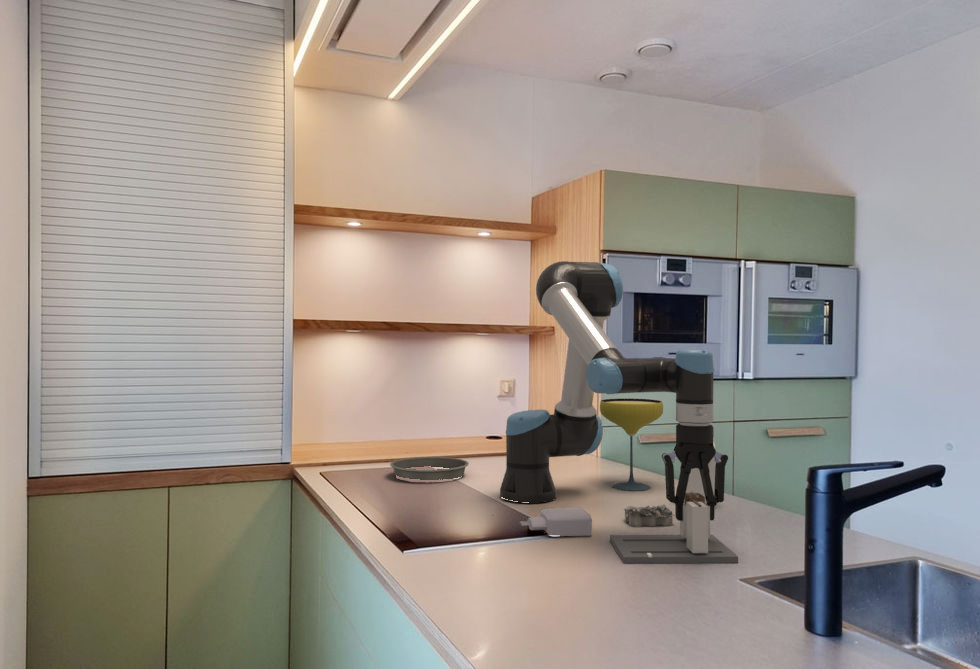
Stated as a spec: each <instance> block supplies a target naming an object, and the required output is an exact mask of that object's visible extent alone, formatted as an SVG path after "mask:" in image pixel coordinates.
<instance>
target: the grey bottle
mask: <svg viewBox="0 0 980 669" xmlns="http://www.w3.org/2000/svg"><path fill="white" fill-rule="evenodd" d="M539 515H540V516H535V517H534V516H533V517H530V516H529V517H527V521H519V524H520V525H521V526H522V527H523V526H524V527H525V526H528V528H529V530H530V531H543V530H545V531H546V532H547V533H548V534H552V535H560V536H580V537H592V536H593V534H592V533H593V528H592V526H593V518H592V516H591V514H590V513H589V512H588V511H587V510H586V509H584V508H583V507H581V506H580V507H558V508H556V507H555V508H543V509H542V510H540V513H539Z"/></svg>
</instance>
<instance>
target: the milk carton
mask: <svg viewBox="0 0 980 669" xmlns="http://www.w3.org/2000/svg"><path fill="white" fill-rule="evenodd" d="M713 445H714V448H715V449H716V445H715V441H714V442H713ZM714 459H715V457H713V458H712V460H711V461H710V463H709V464H708V466H709V471H710V472H709V474H710V479H711V484H712V489H713V494H714V490H715V464H716V462H715V460H714ZM691 492H694V493H700V494H701V495H703V496H704V497H705V494H704V489H703V484H702V480H701V475H700V471H699V469H698V468H694V469H691V473H690V474H689V479H688V484H687V489H686V493H691ZM684 502H685V499H684ZM705 503H706V504H707V502H706V499H705ZM714 509H716V506H715V507H714Z"/></svg>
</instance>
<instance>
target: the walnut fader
mask: <svg viewBox="0 0 980 669" xmlns="http://www.w3.org/2000/svg"><path fill="white" fill-rule="evenodd" d="M693 500H695V501H697V502H702V503H704V504H705V497H704V496H703V495H701V494H700V493H694V492H691V493H686V494H685V501H684V504H685V505H686V502H693Z"/></svg>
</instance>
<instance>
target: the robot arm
mask: <svg viewBox="0 0 980 669" xmlns="http://www.w3.org/2000/svg"><path fill="white" fill-rule="evenodd" d="M536 281H537V282H536V286H535V293H536V294H535V295H536V298H537V301H538V304H539V305H540V306H541V308H542V309H543V311H544V312H545V313H546V314H547V315H550V316H552V317H553V318H554V320H556V322H557V324H558V325H559V326H560V328H561V330H562V331H563V332H564V333H565V335H566V336H567V338H568V344H567V353H566V359H565V360H566V361H565V368H564V376H563V382H562V383H563V384H562V389H561V390H562V391H561V392H562V393H561V400H560V401H558V402H557V403H556V404H555V405H554V411H553V414H550V411H549V410H547V409H528V410H522V411H518V412H515V413H514V412H513V413H511V415H509V416H508V418H507V420H506V428H505V435H506V436H505V440H506V441H505V444H506V445H505V447H506V448H505V451H506V457H505V458H506V460H505V461H506V465H505V466H506V467H505V468H506V470H505V472H504V475H503V480H502V482H501V486H500V487H499V491H500V492H499V497H500V496H501V497H503V498H505V499H508V500H513V501H518V502H529V503H528V504H539V503H538V502H544V503H549V502H551V501H554V500H555V499H556V496H557V495H556V494H557V492H556V491H557V490H556V486H555V483H554V481H553V477H552V474H551V470H550V458H556V457H557V458H558V457H559V458H560V457H572V456H573V457H574V456H577V457H580V456H583V455H590V454H592V453H594V452H595V451H597V449H598V448H599V447H600V445H601V442H602V439H603V433H604V429H603V428H604V427H603V426H602V425H603V422H602V419H601V418H600V416H599V415H598V411H597V409H596V407H595V406H594V405H593V401H594V393H595V394H606V395H615V394H616V395H618V394H635V393H637V394H638V393H641V394H642V393H673V394H675V420H676V422H677V424H676V425H675V447H674V448H673V450H672V451H671V452H668V453H665V452H663V453H662V454H661V458H662V461H663V464H664V477H665V478H664V479H665V480H664V481H665V498H666V500H667V501H668V502H670V503H671V504H672V503H673V504H674V507H675V508H674V509H675V512H674V513H675V514H674V515H675V516H674V517H675V518H676V519H675V520H677V521H678V522H679V535H681V536H682V537H683V538H687V509H686V505H685V501H684V499H685V494H686V489H687V484H688V479H689V474H690V473H691V469H694V468H698V469H699V471H700V475H701V480H702V484H703V489H704V494H705V499H706V502H707V504H706V503H705V505H706V506H708V538H710V535H711V521H714V520H715V508H716V506H717V504H719V503H723V502H724V500H725V480H726V479H725V476H726V465H727V462H728V460H729V456H728V455H727V454H725V453H722V452H721V453H720V452H719V451H717V450H716V447H715V448H714V445H713V442H714V443H715V437H714V436H715V435H714V432H715V431H714V426H713V424H711V423H713V422H714V372H715V368H714V357H713V352H712V351H711V350H709V349H678V350H677V351H676V353H675V358H673V357H663V356H659V357H658V356H655V357H654V356H653V357H628V358H627V357H625V356H624V355H623V354H622V353H621V351H620V350H619V349H618V348H617V346H616V345H615V344H614V343H613V341H612V340H611V339H610V338H609V336H608V335H607V334H606V332H605V331H604V330H603V328H604V322H605V321H606V320H607V319H608V318H609V317H611V312H612V308H616V307H617V306H619V305H620V302H621V301H622V299H623V296H624V295H623V294H624V286H623V284H624V283H623V279H622V277H621V275H620V273H619V271H618V269H617V268H616V267H615V266H614V265H612V264H609V263H602V262H597V261H596V262H594V261H593V262H592V261H591V262H590V261H589V262H588V261H567V260H566V261H564V260H562V261H557V262H553V263H552V264H550V265H548V266H547V267H546V268H544V270H543V271H542V272H541V273H540V275H539V277H538V278H537V280H536ZM713 457H715V459H714V460H715V490H714V494H713V489H712V484H711V479H710V474H709V472H710V471H709V466H708V464H709V463H710V461H711V460H712V458H713ZM676 458H677V460H678V461H679V462H680V468H679V469H680V472H679V476H678V477H679V478H678V482H677V487H676V490H675V468H674V463H675V462H676ZM548 501H549V502H548ZM714 507H715V508H714Z"/></svg>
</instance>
